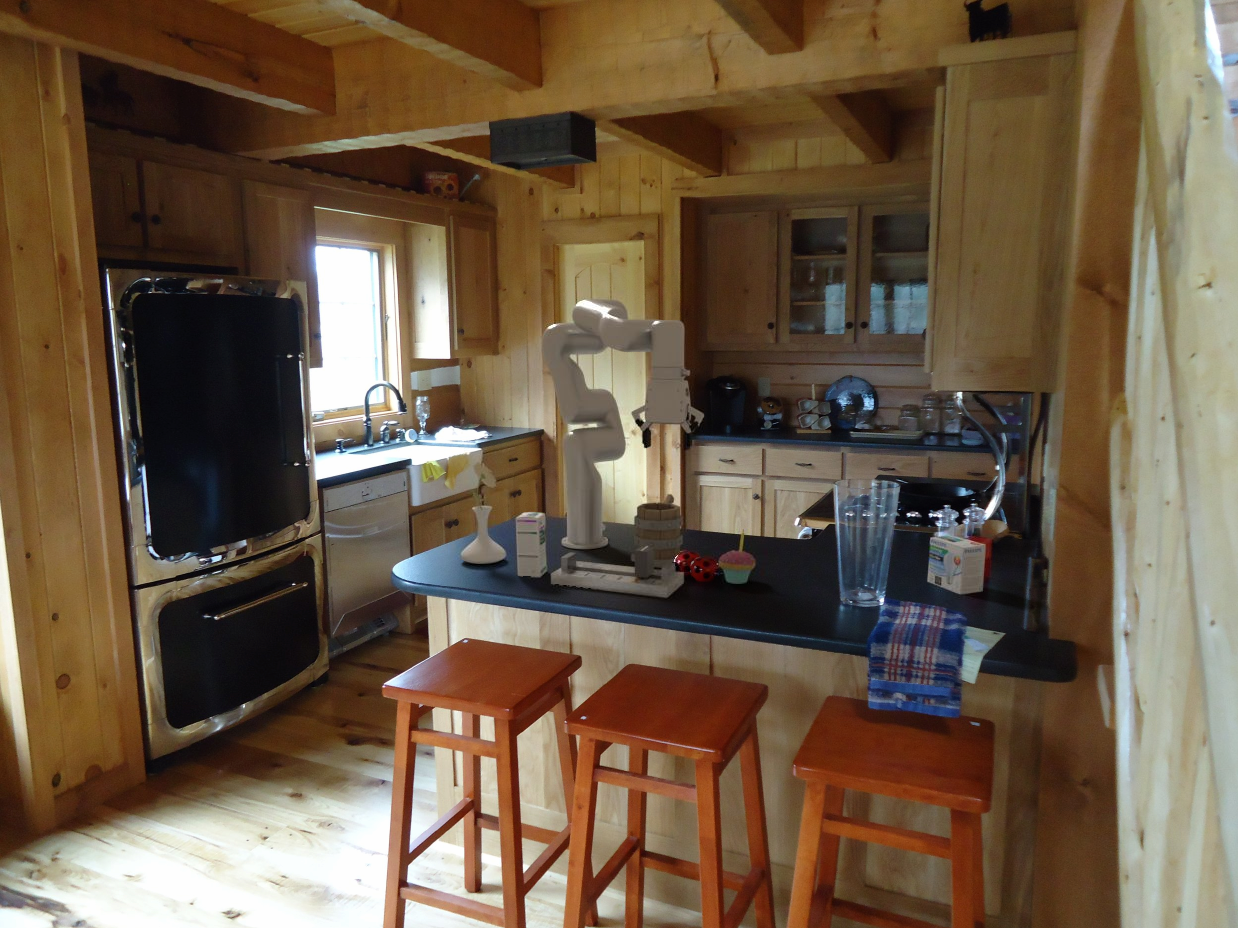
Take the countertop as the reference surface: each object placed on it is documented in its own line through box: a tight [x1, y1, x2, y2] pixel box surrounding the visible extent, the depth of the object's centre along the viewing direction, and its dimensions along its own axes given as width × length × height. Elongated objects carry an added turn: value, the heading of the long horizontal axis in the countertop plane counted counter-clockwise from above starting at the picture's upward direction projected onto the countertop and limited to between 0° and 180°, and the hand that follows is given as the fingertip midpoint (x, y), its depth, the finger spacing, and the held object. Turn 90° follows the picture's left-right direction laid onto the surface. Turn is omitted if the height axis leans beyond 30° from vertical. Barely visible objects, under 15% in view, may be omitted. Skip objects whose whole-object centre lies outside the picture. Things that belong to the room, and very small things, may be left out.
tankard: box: [630, 493, 684, 569], centre depth 223 cm, size 20×13×15 cm, turn 160°
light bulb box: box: [927, 534, 987, 595], centre depth 198 cm, size 11×7×11 cm, turn 23°
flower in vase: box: [460, 461, 507, 565], centre depth 219 cm, size 13×11×25 cm
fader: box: [634, 546, 655, 578], centre depth 198 cm, size 4×3×6 cm
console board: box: [550, 552, 685, 599], centre depth 201 cm, size 12×28×6 cm, turn 68°
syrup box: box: [515, 511, 548, 578], centre depth 208 cm, size 6×6×14 cm
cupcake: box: [718, 529, 756, 585], centre depth 202 cm, size 9×8×12 cm
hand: (666, 448), depth 203 cm, fingers open, 9 cm apart
